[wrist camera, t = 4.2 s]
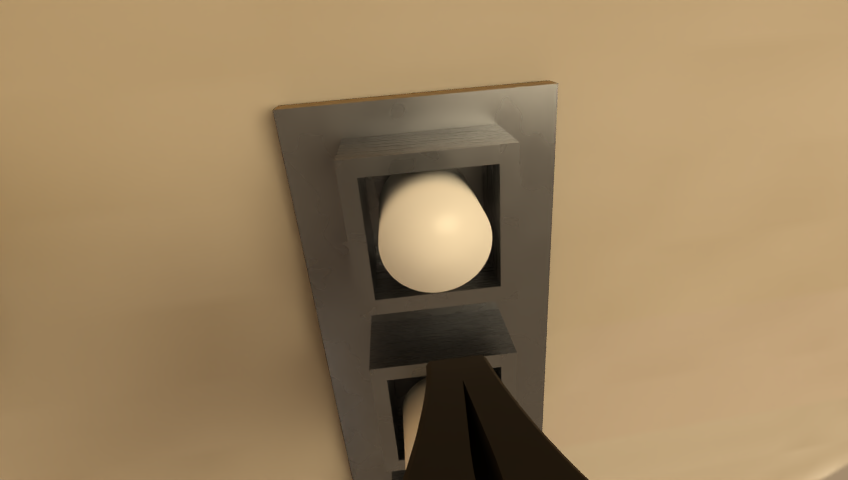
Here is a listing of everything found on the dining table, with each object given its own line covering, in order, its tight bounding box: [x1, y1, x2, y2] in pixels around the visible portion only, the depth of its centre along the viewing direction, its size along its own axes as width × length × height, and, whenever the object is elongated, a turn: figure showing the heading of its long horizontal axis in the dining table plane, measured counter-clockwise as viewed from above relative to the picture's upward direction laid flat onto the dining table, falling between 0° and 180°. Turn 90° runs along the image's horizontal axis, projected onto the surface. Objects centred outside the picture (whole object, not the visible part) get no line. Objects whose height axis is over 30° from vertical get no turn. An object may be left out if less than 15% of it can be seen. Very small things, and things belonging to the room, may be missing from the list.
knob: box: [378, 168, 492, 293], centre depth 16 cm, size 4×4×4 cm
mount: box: [273, 81, 558, 480], centre depth 20 cm, size 24×10×4 cm, turn 5°
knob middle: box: [402, 378, 426, 469], centre depth 17 cm, size 4×4×4 cm
